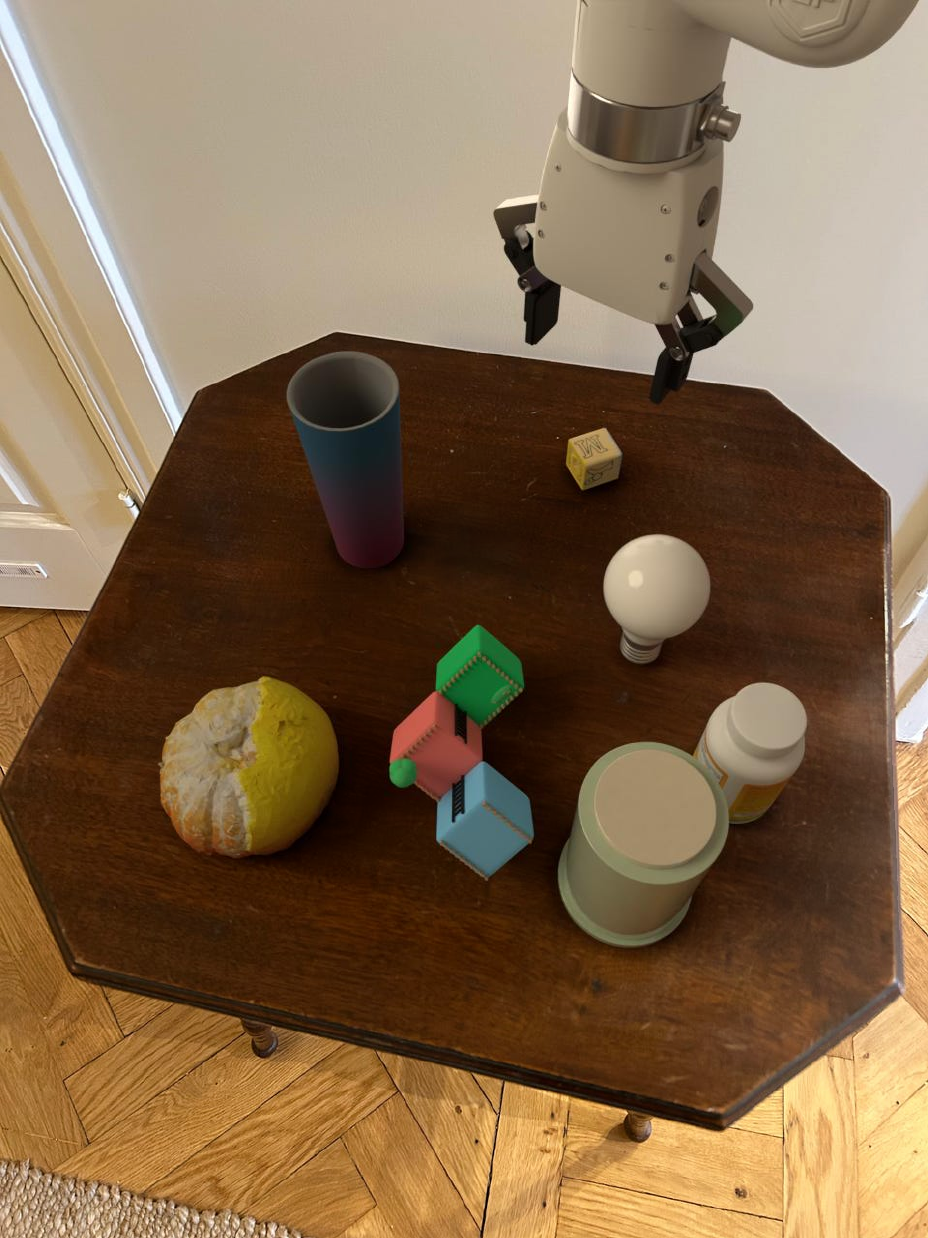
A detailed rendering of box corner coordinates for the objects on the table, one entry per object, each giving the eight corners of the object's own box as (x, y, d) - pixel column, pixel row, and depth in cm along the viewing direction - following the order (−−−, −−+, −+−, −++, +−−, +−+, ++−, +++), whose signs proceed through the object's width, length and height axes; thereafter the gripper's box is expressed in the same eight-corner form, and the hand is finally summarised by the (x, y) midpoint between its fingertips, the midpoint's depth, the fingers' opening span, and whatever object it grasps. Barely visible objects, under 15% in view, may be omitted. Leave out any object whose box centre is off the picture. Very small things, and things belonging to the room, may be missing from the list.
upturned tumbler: (714, 863, 54) (766, 786, 44) (649, 977, 50) (689, 922, 40) (601, 792, 56) (625, 703, 46) (531, 895, 53) (541, 824, 43)
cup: (406, 584, 65) (386, 436, 52) (314, 573, 66) (273, 424, 53) (423, 510, 69) (408, 356, 56) (336, 501, 69) (302, 346, 57)
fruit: (228, 673, 61) (231, 623, 54) (360, 754, 61) (381, 715, 54) (121, 814, 55) (109, 779, 48) (267, 904, 55) (276, 882, 48)
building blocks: (481, 771, 62) (486, 885, 51) (392, 699, 60) (377, 801, 49) (564, 696, 60) (587, 798, 49) (474, 618, 58) (478, 706, 47)
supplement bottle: (785, 769, 57) (836, 697, 49) (754, 842, 54) (801, 779, 46) (705, 730, 58) (740, 654, 50) (671, 799, 56) (702, 731, 48)
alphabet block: (618, 480, 70) (623, 453, 67) (582, 492, 69) (585, 465, 67) (600, 453, 71) (605, 425, 69) (564, 465, 71) (567, 437, 68)
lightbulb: (574, 635, 62) (588, 537, 53) (651, 599, 64) (679, 498, 55) (624, 708, 59) (649, 618, 50) (704, 668, 61) (743, 573, 51)
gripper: (828, 125, 46) (742, 381, 60) (540, 27, 51) (525, 284, 66) (762, 198, 42) (688, 450, 57) (462, 86, 48) (464, 342, 62)
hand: (601, 361), depth 61 cm, fingers open, 9 cm apart
